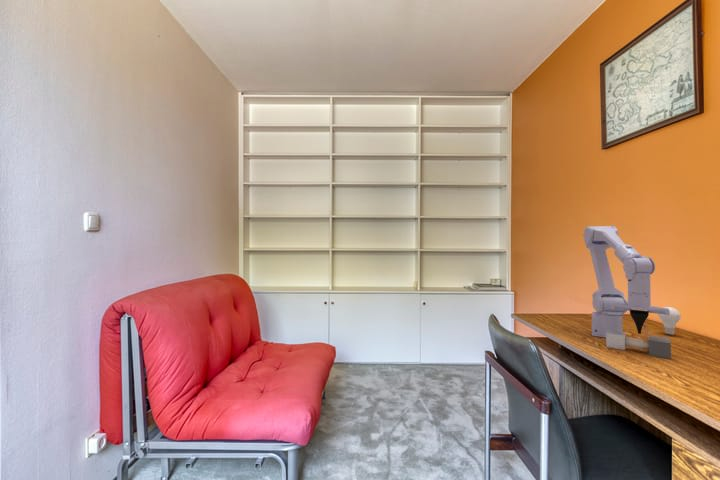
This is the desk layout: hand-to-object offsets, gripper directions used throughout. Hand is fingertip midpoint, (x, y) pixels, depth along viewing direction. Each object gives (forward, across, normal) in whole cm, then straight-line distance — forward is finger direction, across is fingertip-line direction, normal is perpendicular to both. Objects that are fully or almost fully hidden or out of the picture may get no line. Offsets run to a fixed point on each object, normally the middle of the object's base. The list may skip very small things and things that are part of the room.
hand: (639, 333), depth 104 cm
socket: (+6, +5, 0) cm, 8 cm away
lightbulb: (+6, +8, +32) cm, 34 cm away
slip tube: (+5, 0, 0) cm, 5 cm away
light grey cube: (+6, -6, 0) cm, 9 cm away
